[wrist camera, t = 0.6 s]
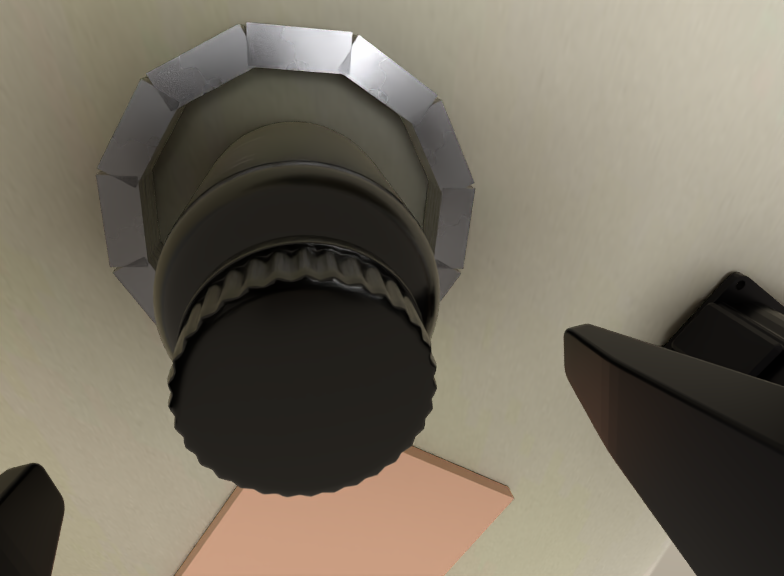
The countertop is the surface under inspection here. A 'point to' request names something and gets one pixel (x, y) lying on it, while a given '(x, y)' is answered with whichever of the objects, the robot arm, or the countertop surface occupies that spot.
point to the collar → (276, 51)
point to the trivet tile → (354, 525)
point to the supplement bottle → (297, 315)
